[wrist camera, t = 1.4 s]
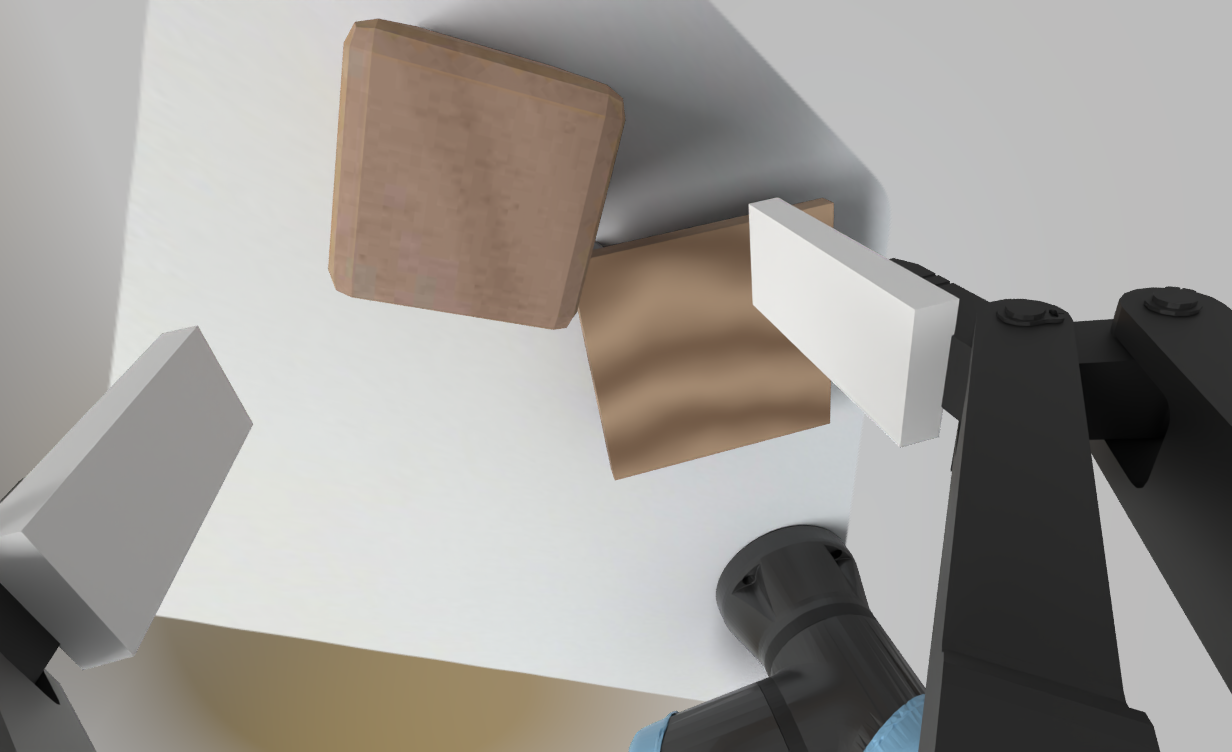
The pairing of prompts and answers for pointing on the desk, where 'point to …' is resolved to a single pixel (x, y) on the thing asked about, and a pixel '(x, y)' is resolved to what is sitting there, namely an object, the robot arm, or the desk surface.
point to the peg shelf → (691, 349)
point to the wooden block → (467, 176)
